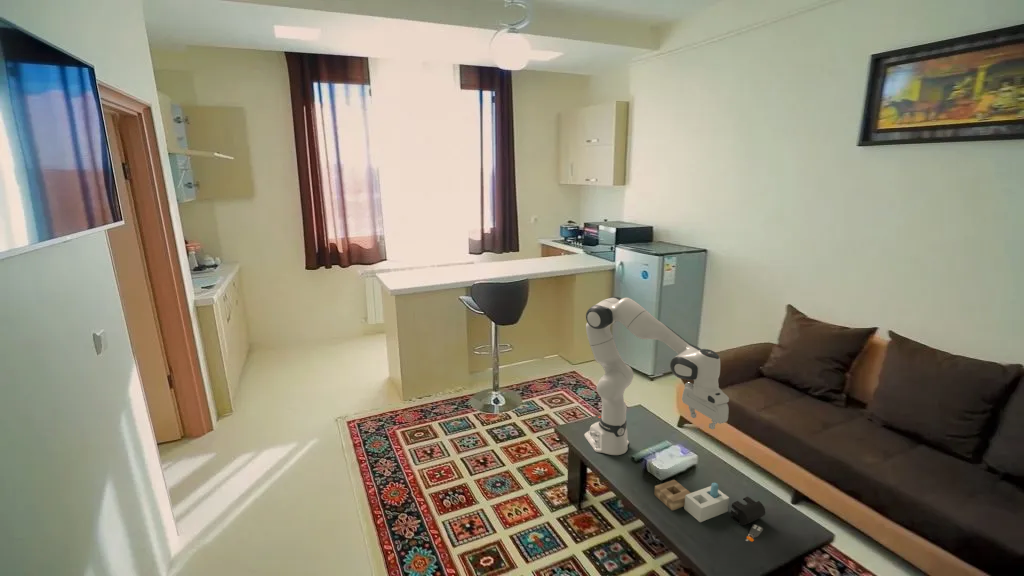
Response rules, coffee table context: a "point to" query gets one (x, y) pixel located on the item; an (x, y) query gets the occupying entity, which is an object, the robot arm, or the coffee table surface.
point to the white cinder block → (705, 504)
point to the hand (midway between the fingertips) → (702, 422)
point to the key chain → (754, 532)
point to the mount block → (671, 494)
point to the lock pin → (714, 490)
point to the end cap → (747, 511)
